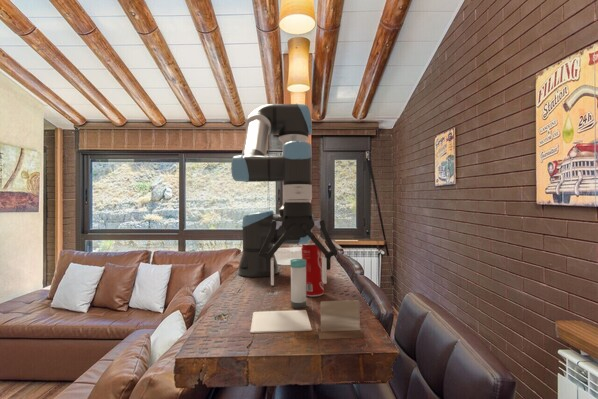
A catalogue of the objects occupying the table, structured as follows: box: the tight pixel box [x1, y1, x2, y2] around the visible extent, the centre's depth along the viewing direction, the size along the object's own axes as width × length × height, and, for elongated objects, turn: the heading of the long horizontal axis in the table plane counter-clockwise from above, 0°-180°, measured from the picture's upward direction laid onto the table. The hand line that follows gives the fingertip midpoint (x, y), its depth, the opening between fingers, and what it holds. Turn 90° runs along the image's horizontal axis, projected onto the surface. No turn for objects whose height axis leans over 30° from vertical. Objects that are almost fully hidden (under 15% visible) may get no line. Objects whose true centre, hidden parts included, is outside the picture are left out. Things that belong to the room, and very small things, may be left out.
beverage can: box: [301, 242, 325, 297], centre depth 96 cm, size 6×6×15 cm
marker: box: [289, 258, 307, 310], centre depth 86 cm, size 4×4×12 cm
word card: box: [317, 299, 365, 340], centre depth 67 cm, size 3×9×7 cm, turn 95°
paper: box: [250, 309, 313, 334], centre depth 75 cm, size 12×13×1 cm
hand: (298, 283), depth 85 cm, fingers open, 13 cm apart
